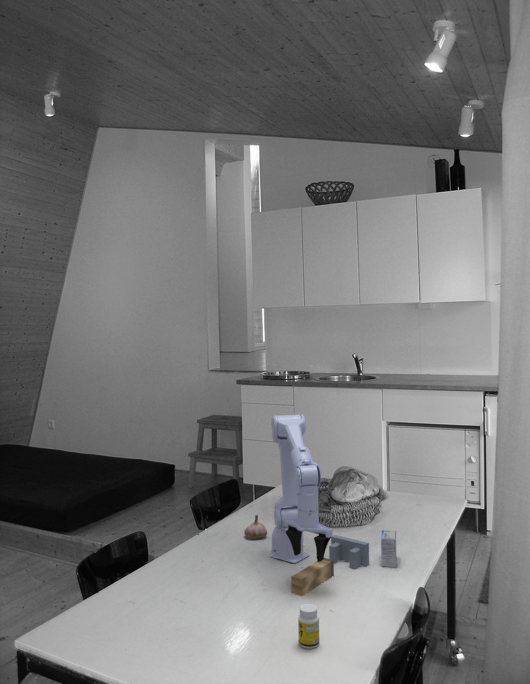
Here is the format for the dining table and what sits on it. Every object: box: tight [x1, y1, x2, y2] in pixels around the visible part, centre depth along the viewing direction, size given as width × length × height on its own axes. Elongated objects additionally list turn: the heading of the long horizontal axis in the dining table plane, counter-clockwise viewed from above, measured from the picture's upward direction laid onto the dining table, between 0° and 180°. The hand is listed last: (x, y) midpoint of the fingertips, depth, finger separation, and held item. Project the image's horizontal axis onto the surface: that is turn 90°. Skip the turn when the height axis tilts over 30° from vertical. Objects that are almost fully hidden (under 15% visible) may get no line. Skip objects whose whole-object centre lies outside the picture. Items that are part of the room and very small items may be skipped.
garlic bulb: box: [243, 513, 268, 540], centre depth 211 cm, size 8×7×8 cm
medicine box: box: [380, 529, 398, 568], centre depth 188 cm, size 8×4×9 cm, turn 168°
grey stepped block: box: [328, 534, 370, 570], centre depth 189 cm, size 12×6×6 cm, turn 52°
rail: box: [290, 557, 335, 597], centre depth 174 cm, size 16×4×4 cm, turn 142°
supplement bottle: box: [297, 603, 320, 649], centre depth 143 cm, size 5×5×8 cm
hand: (308, 557), depth 173 cm, fingers open, 7 cm apart
